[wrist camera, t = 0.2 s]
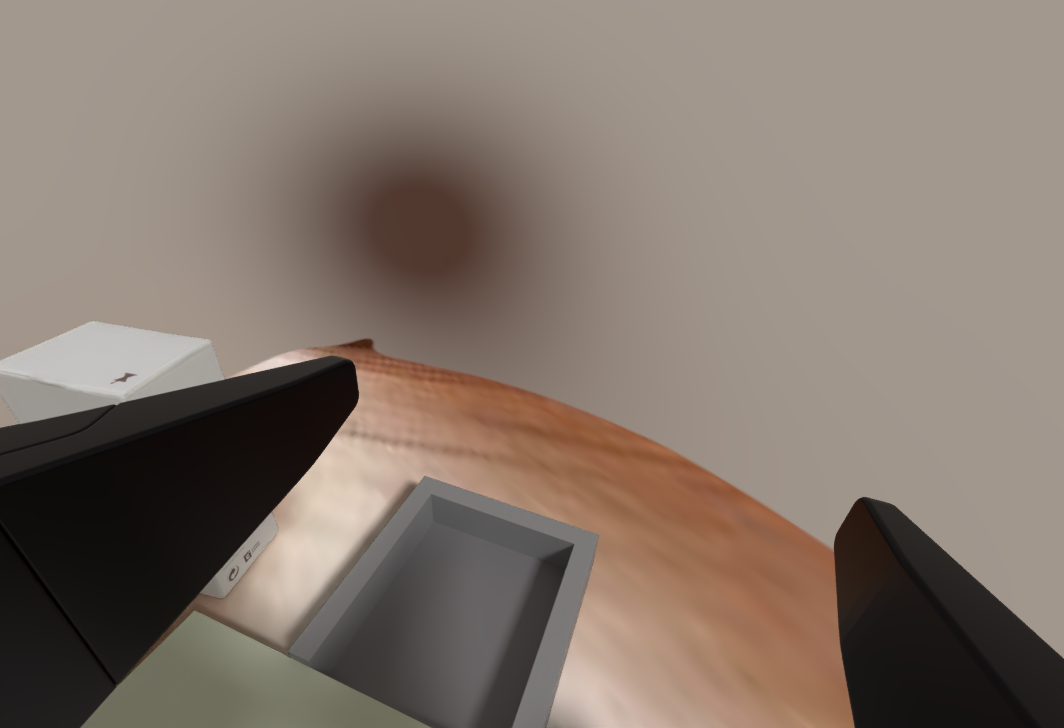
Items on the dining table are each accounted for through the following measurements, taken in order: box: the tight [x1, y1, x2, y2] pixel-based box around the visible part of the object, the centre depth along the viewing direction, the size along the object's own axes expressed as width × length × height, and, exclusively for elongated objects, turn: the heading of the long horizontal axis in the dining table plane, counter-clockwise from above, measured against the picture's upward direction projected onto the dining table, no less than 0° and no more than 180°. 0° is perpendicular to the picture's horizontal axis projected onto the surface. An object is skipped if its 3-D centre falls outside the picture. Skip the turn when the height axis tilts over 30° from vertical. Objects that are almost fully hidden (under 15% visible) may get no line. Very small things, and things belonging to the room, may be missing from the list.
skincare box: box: [0, 321, 278, 599], centre depth 21 cm, size 6×4×12 cm
